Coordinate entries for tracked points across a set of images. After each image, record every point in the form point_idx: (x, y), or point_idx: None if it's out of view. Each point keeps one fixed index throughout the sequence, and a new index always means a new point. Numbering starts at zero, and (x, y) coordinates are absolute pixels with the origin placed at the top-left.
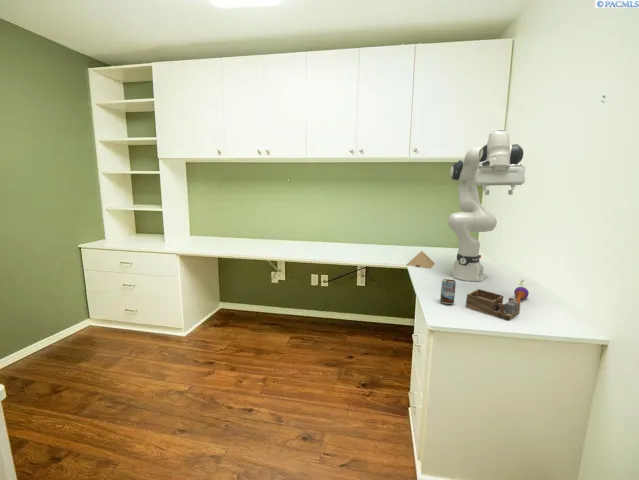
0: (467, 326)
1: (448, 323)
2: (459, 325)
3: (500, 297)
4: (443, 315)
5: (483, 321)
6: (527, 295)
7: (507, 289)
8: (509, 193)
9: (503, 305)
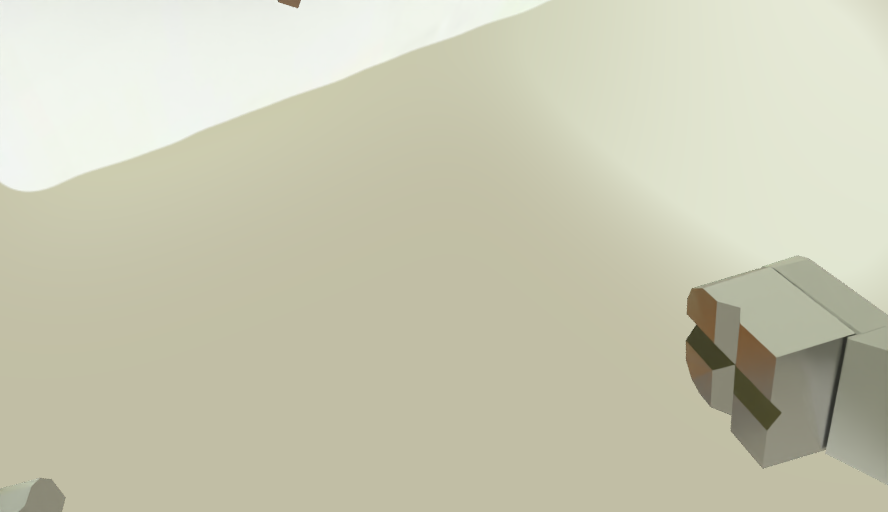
0: (155, 143)
1: (74, 161)
2: (122, 153)
3: None
4: (12, 94)
5: (207, 55)
6: None
7: None
8: (698, 377)
9: (297, 6)
